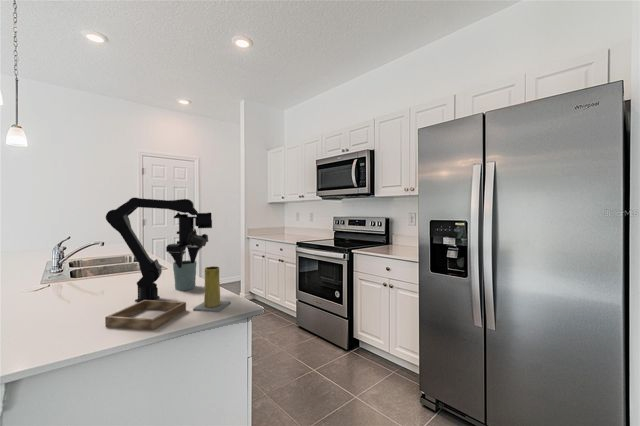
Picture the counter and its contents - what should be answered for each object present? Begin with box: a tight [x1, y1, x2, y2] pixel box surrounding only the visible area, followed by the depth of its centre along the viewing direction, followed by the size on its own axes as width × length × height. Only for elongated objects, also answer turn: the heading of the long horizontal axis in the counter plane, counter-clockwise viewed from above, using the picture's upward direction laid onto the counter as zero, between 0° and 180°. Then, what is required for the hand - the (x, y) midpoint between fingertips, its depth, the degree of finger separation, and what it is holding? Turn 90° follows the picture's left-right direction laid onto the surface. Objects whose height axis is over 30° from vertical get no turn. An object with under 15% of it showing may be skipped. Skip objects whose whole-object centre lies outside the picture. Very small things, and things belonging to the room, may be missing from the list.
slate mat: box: [192, 300, 231, 313], centre depth 114 cm, size 10×10×1 cm
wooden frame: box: [104, 299, 187, 331], centre depth 102 cm, size 17×17×3 cm
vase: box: [203, 265, 221, 307], centre depth 113 cm, size 6×6×14 cm
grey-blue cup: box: [172, 260, 197, 291], centre depth 138 cm, size 10×10×12 cm
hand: (186, 265), depth 125 cm, fingers open, 9 cm apart
